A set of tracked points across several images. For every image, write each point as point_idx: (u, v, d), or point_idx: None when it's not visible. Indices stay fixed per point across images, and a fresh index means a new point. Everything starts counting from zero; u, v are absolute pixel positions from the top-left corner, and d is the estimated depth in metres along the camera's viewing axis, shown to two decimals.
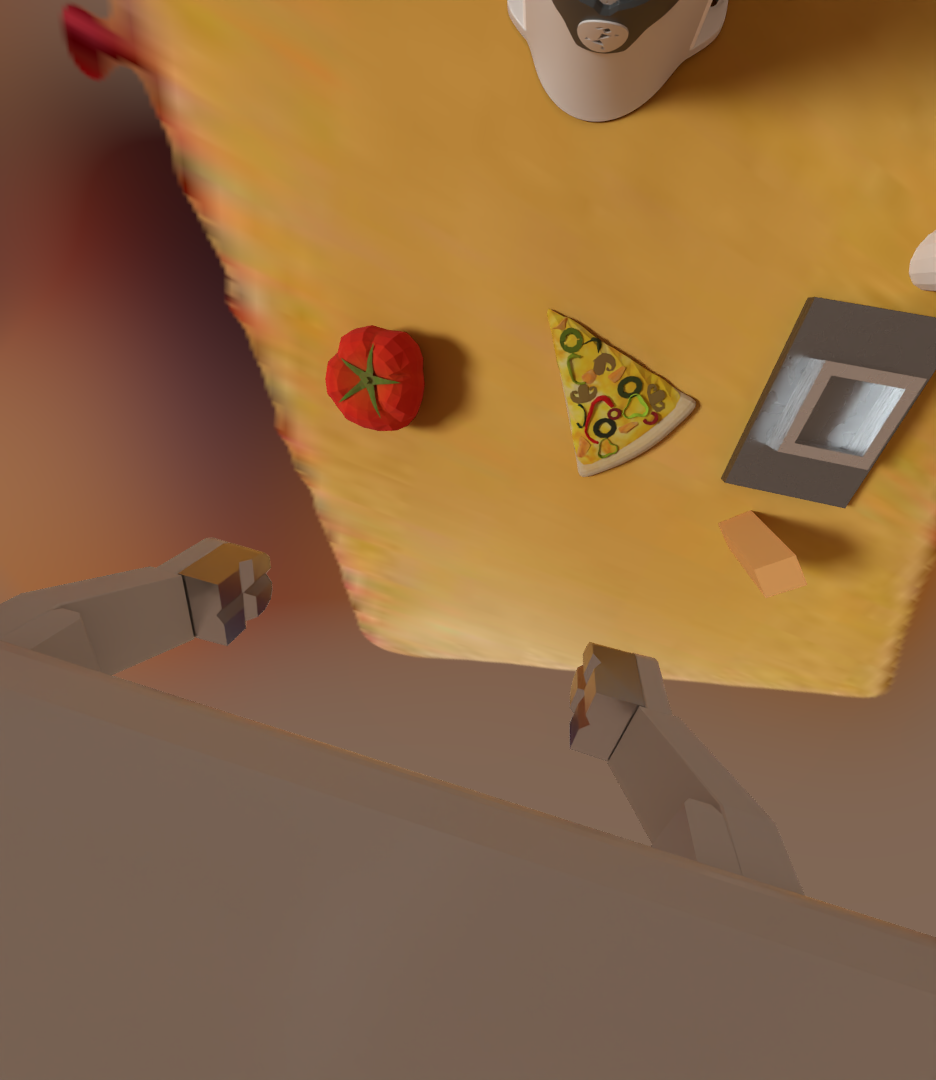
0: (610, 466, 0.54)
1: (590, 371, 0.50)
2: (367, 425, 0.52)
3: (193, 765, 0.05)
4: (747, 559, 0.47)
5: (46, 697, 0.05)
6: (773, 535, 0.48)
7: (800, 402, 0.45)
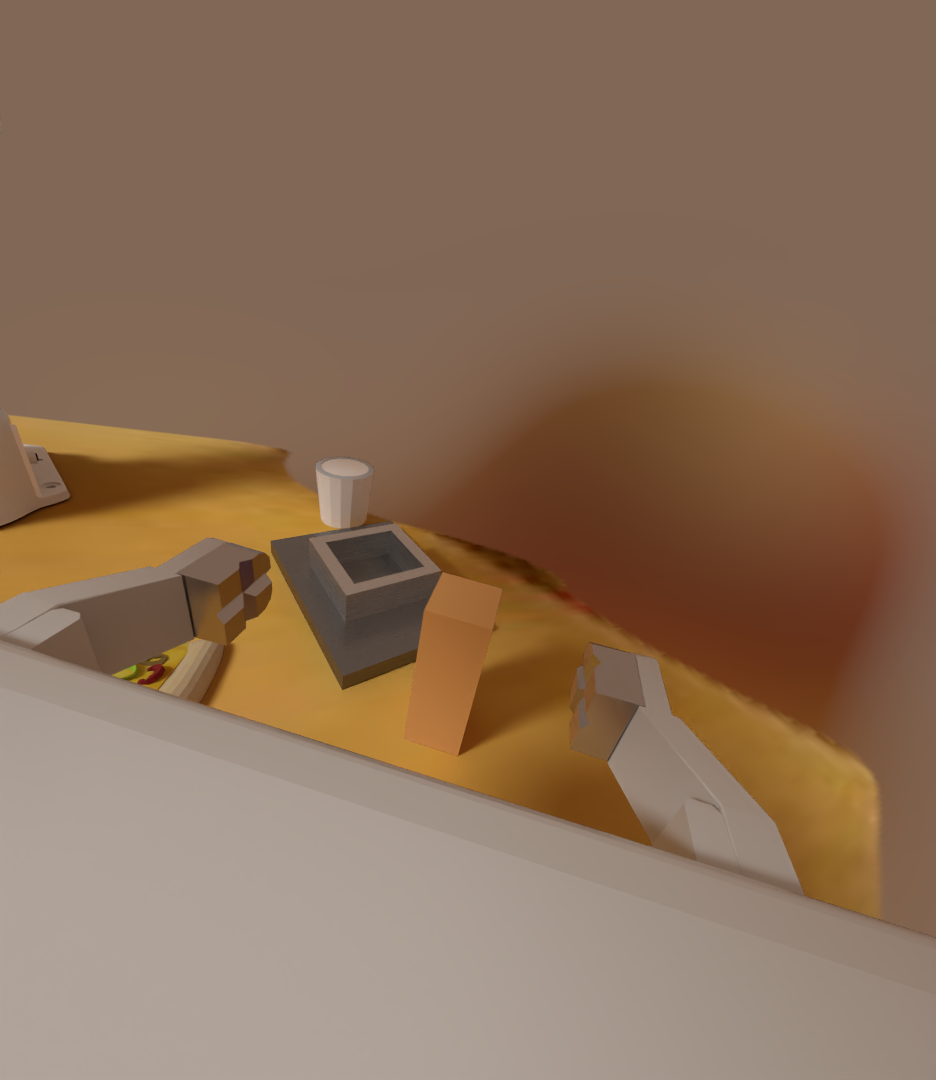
0: None
1: None
2: None
3: (193, 765, 0.05)
4: (420, 636, 0.25)
5: (46, 696, 0.05)
6: None
7: (324, 566, 0.39)
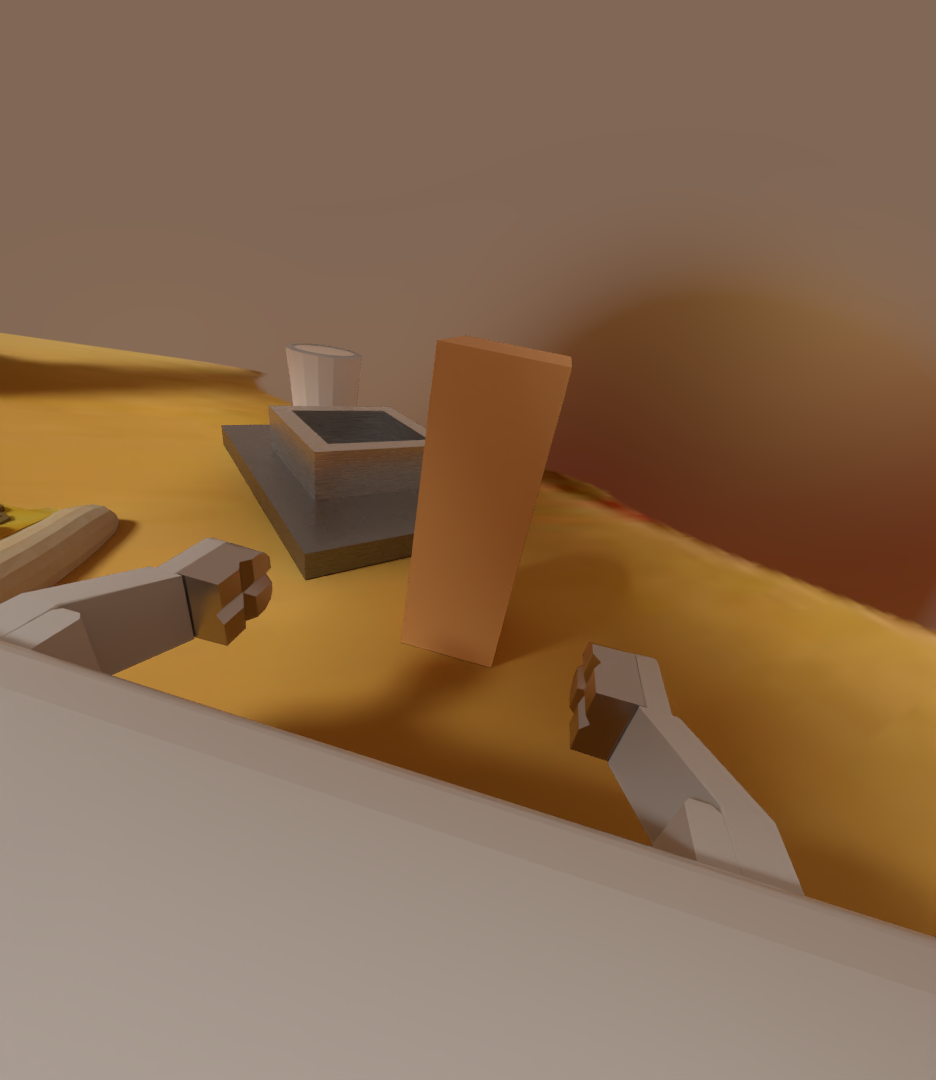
0: None
1: None
2: None
3: (193, 765, 0.05)
4: (429, 413, 0.14)
5: (46, 697, 0.05)
6: None
7: (286, 431, 0.27)
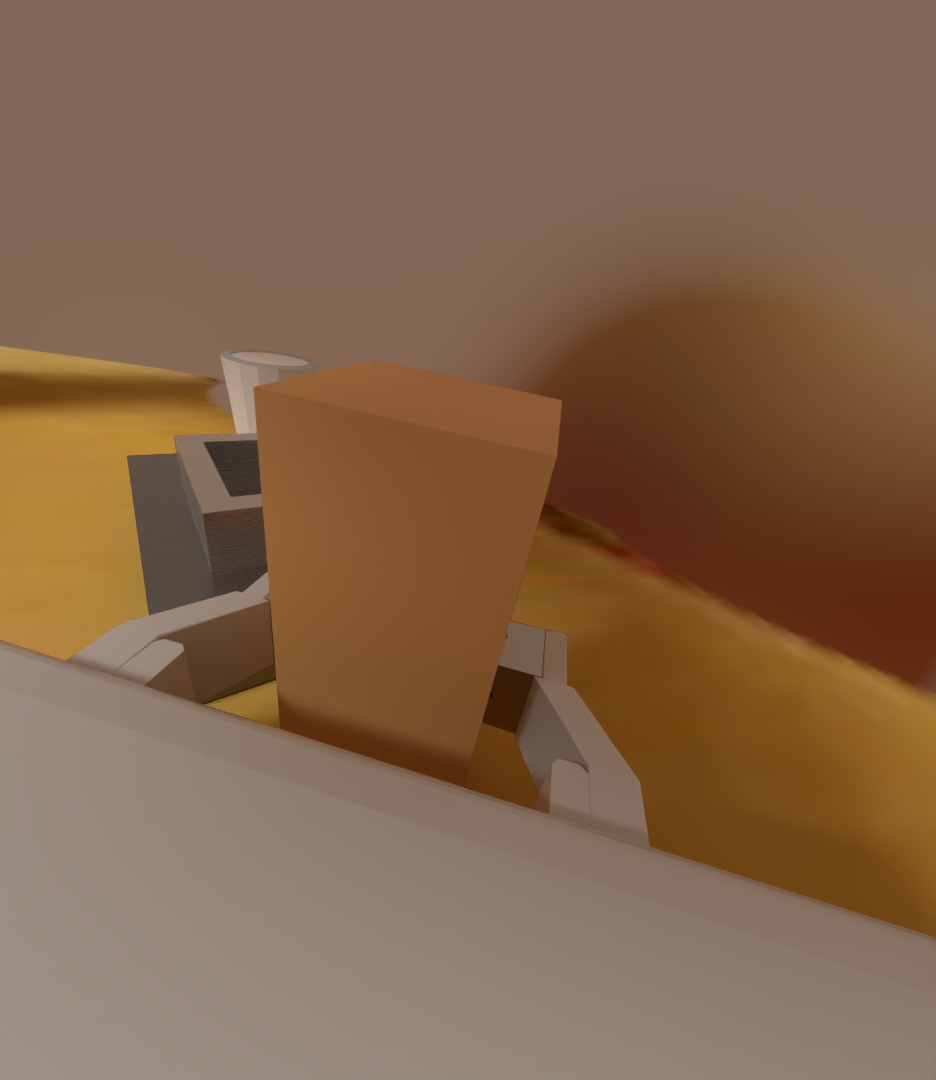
0: None
1: None
2: None
3: (193, 765, 0.05)
4: (270, 527, 0.07)
5: (46, 697, 0.05)
6: None
7: (185, 474, 0.20)
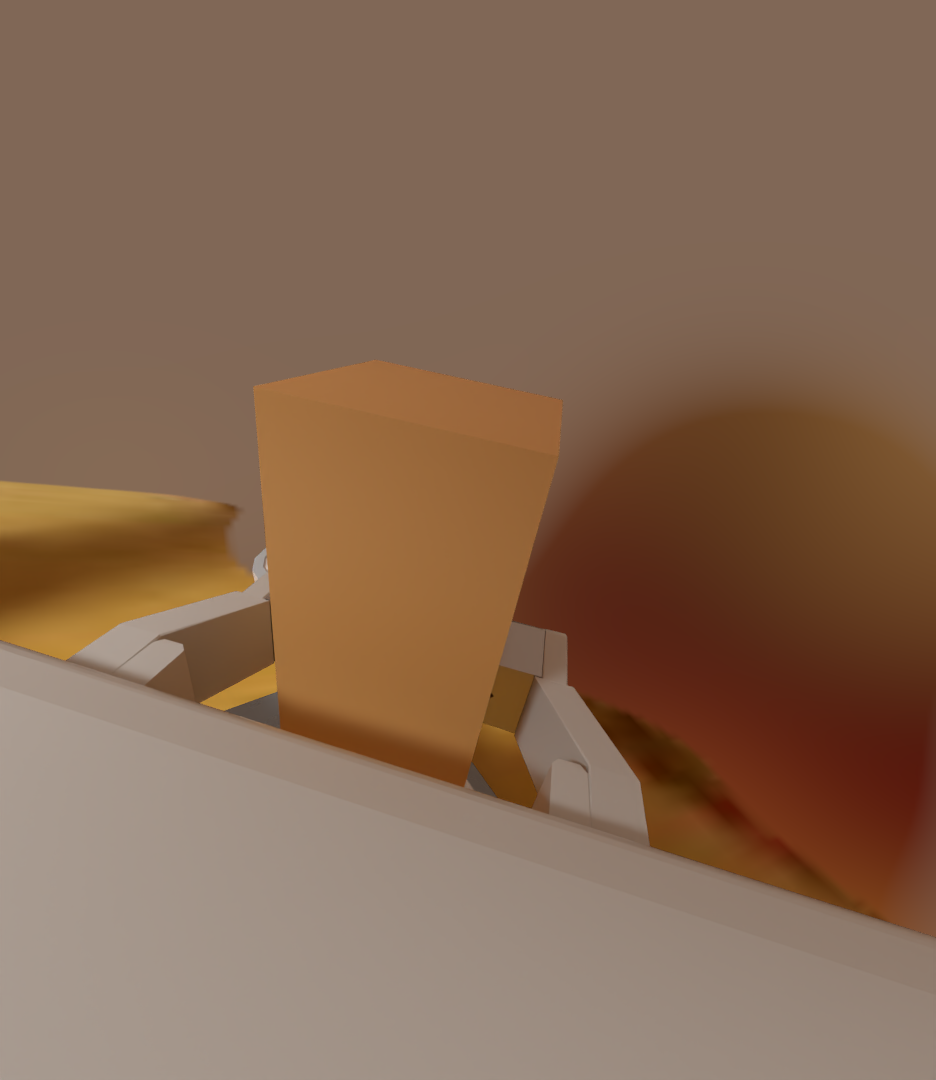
0: None
1: None
2: None
3: (193, 765, 0.05)
4: (270, 528, 0.07)
5: (46, 697, 0.05)
6: None
7: None
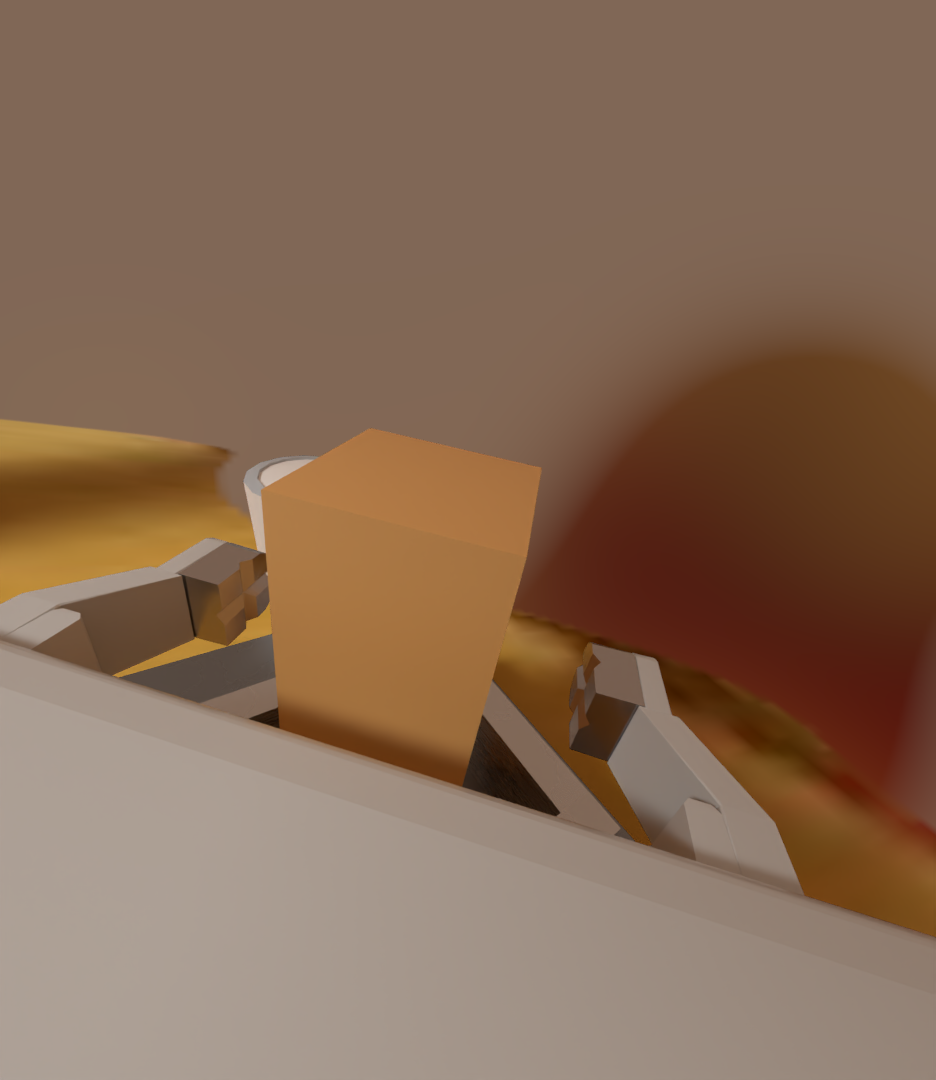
0: None
1: None
2: None
3: (193, 765, 0.05)
4: None
5: (46, 697, 0.05)
6: None
7: None
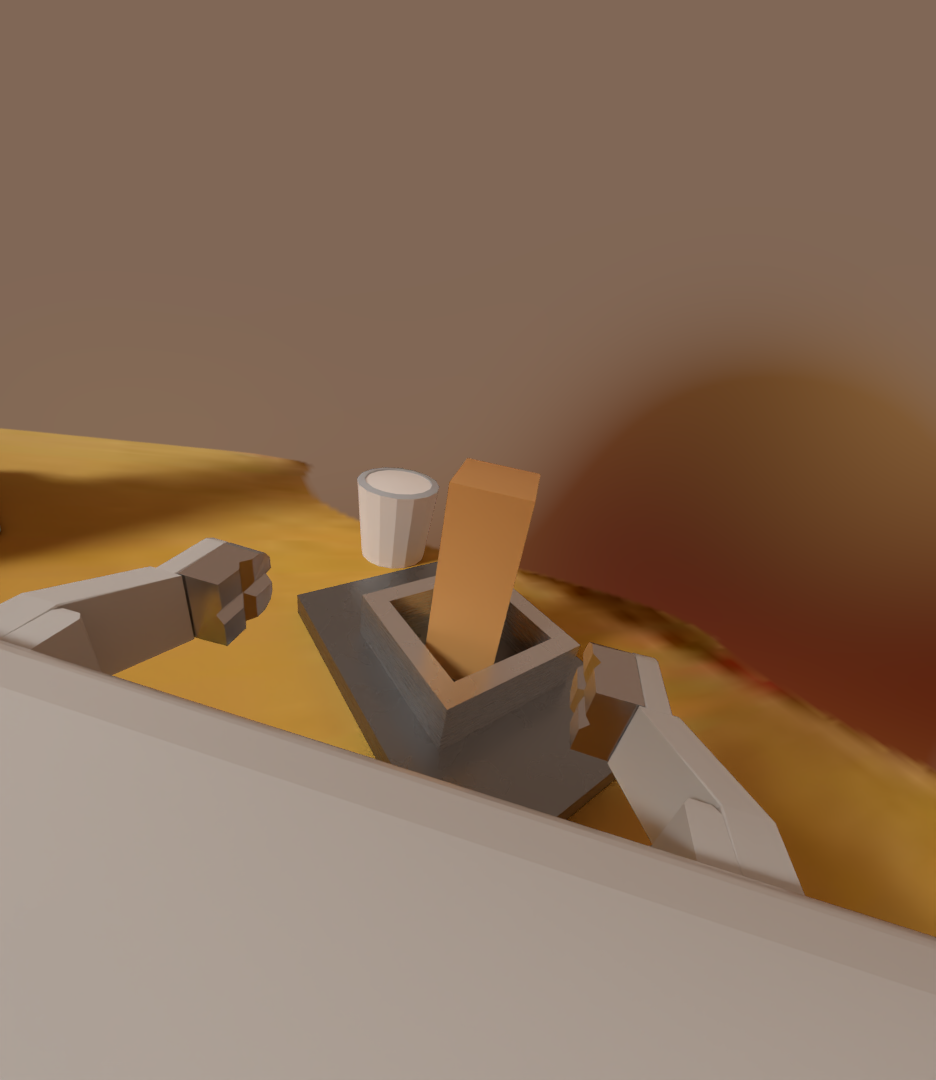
0: None
1: None
2: None
3: (193, 765, 0.05)
4: (444, 522, 0.20)
5: (46, 697, 0.05)
6: None
7: (393, 645, 0.23)
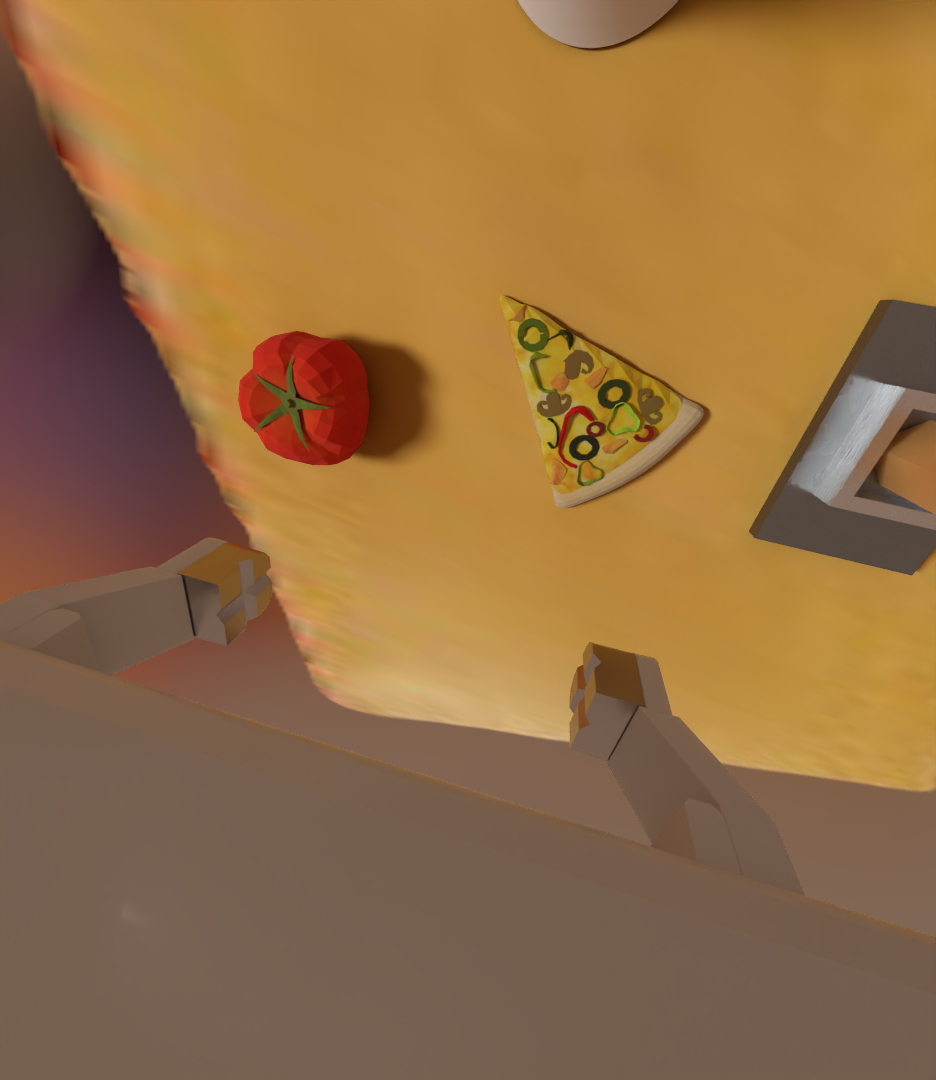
0: (594, 495, 0.42)
1: (560, 375, 0.37)
2: (295, 459, 0.40)
3: (193, 765, 0.05)
4: None
5: (46, 697, 0.05)
6: None
7: (865, 443, 0.33)
